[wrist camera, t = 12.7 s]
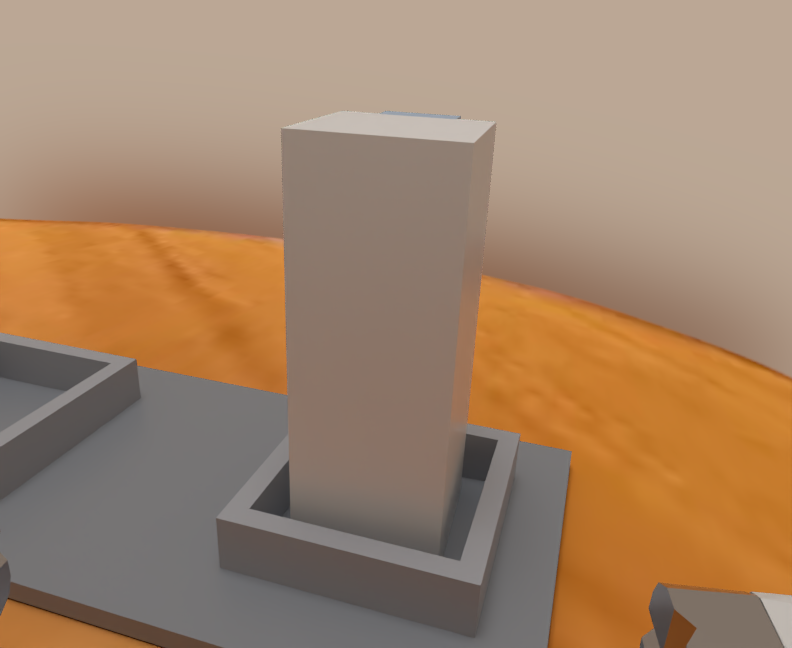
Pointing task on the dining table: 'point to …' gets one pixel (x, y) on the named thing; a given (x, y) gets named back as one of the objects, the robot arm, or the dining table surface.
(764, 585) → the dining table surface
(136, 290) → the dining table surface
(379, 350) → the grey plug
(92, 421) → the grey flat plate
